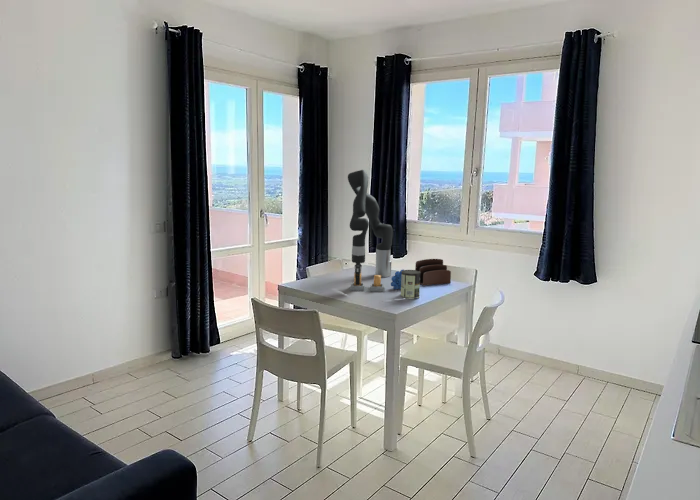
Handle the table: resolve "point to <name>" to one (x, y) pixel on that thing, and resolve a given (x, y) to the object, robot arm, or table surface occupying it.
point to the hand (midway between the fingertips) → (357, 283)
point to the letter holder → (433, 272)
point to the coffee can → (410, 284)
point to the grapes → (396, 280)
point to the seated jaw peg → (377, 280)
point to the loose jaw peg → (355, 279)
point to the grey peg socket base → (367, 288)
